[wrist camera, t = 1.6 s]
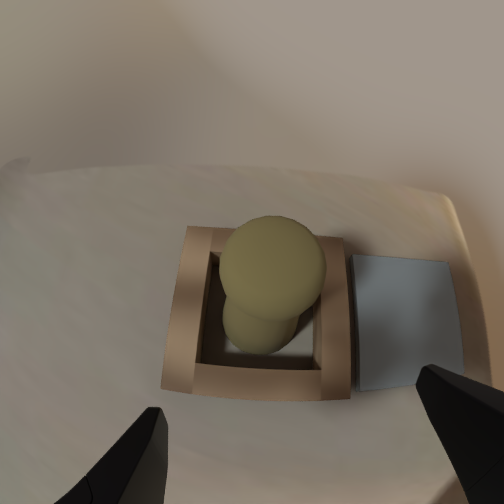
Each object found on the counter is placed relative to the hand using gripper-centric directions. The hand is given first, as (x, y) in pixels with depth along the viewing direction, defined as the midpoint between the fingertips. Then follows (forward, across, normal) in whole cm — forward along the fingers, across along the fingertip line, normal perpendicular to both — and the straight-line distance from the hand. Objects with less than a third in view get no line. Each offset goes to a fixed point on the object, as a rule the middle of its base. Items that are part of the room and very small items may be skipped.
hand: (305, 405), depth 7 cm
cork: (+14, 0, +4) cm, 14 cm away
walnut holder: (+13, 0, +4) cm, 14 cm away
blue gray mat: (+12, -14, +6) cm, 19 cm away
